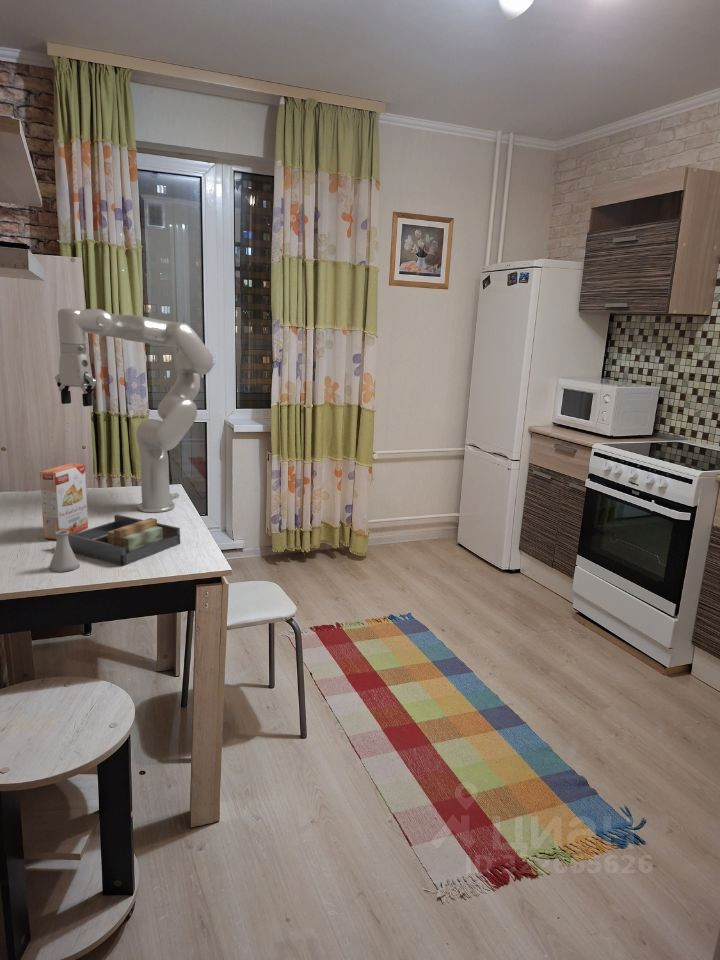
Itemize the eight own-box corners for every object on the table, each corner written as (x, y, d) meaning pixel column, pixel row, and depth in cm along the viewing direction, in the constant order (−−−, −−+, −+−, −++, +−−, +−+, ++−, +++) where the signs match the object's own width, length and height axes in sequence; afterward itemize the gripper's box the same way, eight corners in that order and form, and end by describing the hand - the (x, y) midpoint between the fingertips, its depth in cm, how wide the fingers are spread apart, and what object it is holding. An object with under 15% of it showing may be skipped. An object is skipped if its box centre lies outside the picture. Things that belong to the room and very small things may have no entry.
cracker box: (60, 541, 195) (55, 472, 190) (43, 539, 196) (37, 471, 192) (90, 527, 208) (85, 463, 204) (73, 526, 210) (68, 462, 205)
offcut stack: (145, 542, 197) (144, 516, 195) (164, 546, 193) (163, 520, 192) (108, 555, 185) (107, 528, 183) (128, 560, 181) (126, 532, 180)
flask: (60, 574, 169) (58, 538, 167) (43, 568, 173) (40, 532, 171) (85, 566, 175) (82, 531, 173) (68, 561, 179) (65, 526, 177)
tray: (117, 529, 207) (116, 514, 206) (180, 543, 196) (179, 527, 195) (57, 548, 188) (56, 532, 187) (123, 565, 177) (122, 548, 176)
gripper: (102, 350, 202) (106, 405, 206) (64, 348, 210) (68, 401, 214) (82, 351, 196) (86, 408, 199) (43, 348, 203) (48, 403, 207)
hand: (77, 404), depth 207 cm, fingers open, 9 cm apart
